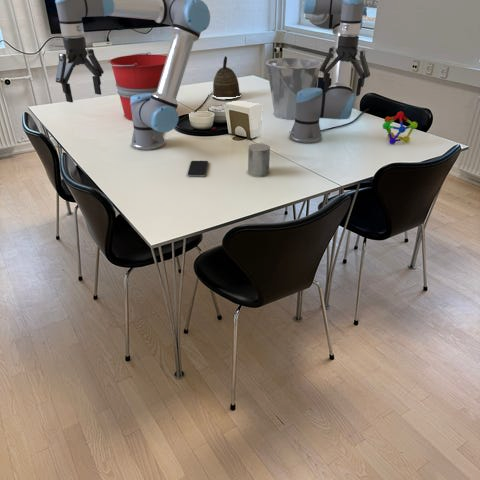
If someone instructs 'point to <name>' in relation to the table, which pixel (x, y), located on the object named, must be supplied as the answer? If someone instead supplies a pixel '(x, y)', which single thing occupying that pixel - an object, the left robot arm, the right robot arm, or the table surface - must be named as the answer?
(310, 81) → the bucket
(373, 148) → the table surface
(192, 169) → the smartphone
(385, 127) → the educational toy
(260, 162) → the tin
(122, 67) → the bucket
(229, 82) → the bell
